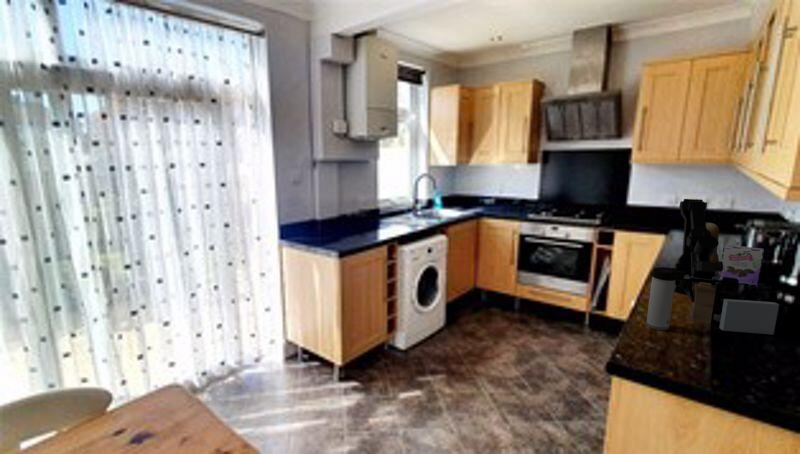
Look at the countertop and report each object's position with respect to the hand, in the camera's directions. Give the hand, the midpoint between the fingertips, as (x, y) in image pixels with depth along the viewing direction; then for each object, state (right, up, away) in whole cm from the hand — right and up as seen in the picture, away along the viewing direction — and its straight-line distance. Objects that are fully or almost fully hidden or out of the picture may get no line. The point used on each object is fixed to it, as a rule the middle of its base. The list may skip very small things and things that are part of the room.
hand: (703, 303), depth 130 cm
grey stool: (+10, -7, -2) cm, 12 cm away
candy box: (+51, 0, +45) cm, 69 cm away
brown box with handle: (+1, -6, +2) cm, 7 cm away
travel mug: (-18, -7, -4) cm, 20 cm away
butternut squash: (+45, +3, +60) cm, 75 cm away
